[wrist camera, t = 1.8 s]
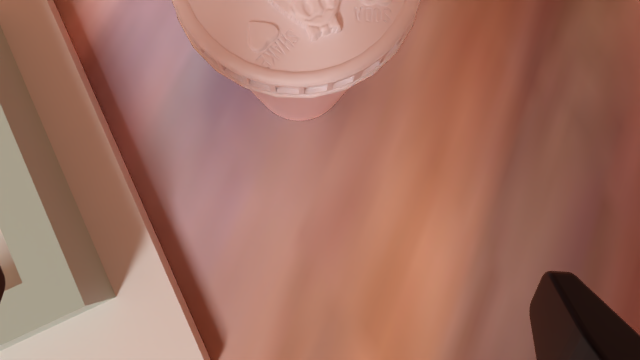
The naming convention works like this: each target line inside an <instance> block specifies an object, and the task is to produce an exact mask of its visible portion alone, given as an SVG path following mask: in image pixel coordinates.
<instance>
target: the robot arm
mask: <svg viewBox="0 0 640 360" xmlns="http://www.w3.org/2000/svg"><path fill="white" fill-rule="evenodd" d="M4 290H5V276H4V273H3V271H2V268H1V266H0V302H1V300H2V297H3V294H4ZM530 321H531V328H532V334H533V340H534V346H535V352H536V358H537V360H640V335H639V334H638V333H636V332H635V331H634V330H633V329H632V328H631V327H630V326H629V325H628V324H627V323H626V322H625V321H624V320H623V319H622V318H620V317H619V316H618V315H617V314H616V313H615V312H614V311H613V310H612V309H611V308H610V307H609V306H608V305H607V304H605V303H604V302H603V301H602V300H601V299H600V298H599V297H598V296H597V295H596V294H595V293H594V292H593V291H592V290H591V289H589V288H588V287H587V286H586V285H585V284H584V283H583V282H582V281H581V280H580V279H579V278H578V277H577V276H575V275H574V274H572V273H570V272H558V271H548V272H546V273H545V274H544V275H543V276H542V278H541V281H540V283H539V285H538V287H537V290H536V292H535V294H534V296H533V298H532V301H531V304H530Z"/></svg>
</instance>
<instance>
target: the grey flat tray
mask: <svg viewBox="0 0 640 360" xmlns="http://www.w3.org/2000/svg"><path fill="white" fill-rule="evenodd" d="M0 266H1V268H2V271H3V273H4V276H5V290H4V294H3V297H2V300H1V302H0V360H211V359H210V357H209V355H208V352H207V350H206V348H205V346H204V343H203V341H202V339H201V336H200V334H199V332H198V330H197V327H196V325H195V323H194V320H193V318H192V316H191V314H190V311H189V309H188V307H187V304H186V302H185V300H184V298H183V295H182V293H181V291H180V288H179V286H178V284H177V282H176V279H175V277H174V275H173V272H172V270H171V268H170V266H169V263H168V261H167V259H166V256H165V254H164V252H163V250H162V247H161V245H160V243H159V240H158V238H157V236H156V234H155V231H154V229H153V227H152V224H151V222H150V220H149V218H148V215H147V213H146V211H145V208H144V206H143V204H142V202H141V199H140V197H139V195H138V192H137V190H136V188H135V186H134V183H133V181H132V179H131V176H130V174H129V172H128V170H127V167H126V165H125V163H124V160H123V158H122V156H121V154H120V151H119V149H118V147H117V144H116V142H115V140H114V138H113V135H112V133H111V131H110V128H109V126H108V124H107V122H106V119H105V117H104V115H103V113H102V110H101V108H100V106H99V103H98V101H97V99H96V97H95V94H94V92H93V90H92V87H91V85H90V83H89V81H88V78H87V76H86V74H85V71H84V69H83V67H82V65H81V62H80V60H79V58H78V55H77V53H76V51H75V49H74V46H73V44H72V42H71V39H70V37H69V35H68V33H67V30H66V28H65V26H64V23H63V21H62V19H61V17H60V14H59V12H58V10H57V7H56V5H55V3H54V1H53V0H0Z"/></svg>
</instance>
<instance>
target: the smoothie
mask: <svg viewBox="0 0 640 360" xmlns="http://www.w3.org/2000/svg"><path fill="white" fill-rule="evenodd" d="M420 1H421V0H172V3H173V5H174V8H175V10H176V14H177V18H178V20H179V22H180V24H181V26H182V28H183V30H184V31H185V33H186V35H187V37H188V39H189V41H190V42H191V44H192V46H193V48H194V49H195V50H196V51H197V52H198V53H199V54H200V55H201V56H202V57H203V58H204V59H205V60H206V61H207V62H208V63H209V64H210V65H211V66H212V67H213V68H214V69H215V70H216V71H217V72H219V73H220V74H222V75H224V76H225V77H227V78H229V79H230V80H232V81H234V82H235V83H237V84H239V85H240V86H242V87H244V88H246V89H249V90H251V91H252V92H253V93H254V95H255V96H256V97H257V98H258V99H259V100H260V101H261V102H262V103H263V104H264V105H265V106H266V107H267V108H268V109H269V110H270V111H272V112H273V113H275V114H276V115H278V116H280V117H282V118H285V119H289V120H295V121H304V120H310V119H314V118H316V117H319V116H321V115H323V114H324V113H326V112H327V111H328V110H330V109H331V108H332V107H333V106H334V105H335V103H336V102H337V101H338V100H339V99H340V98H341V97H342V95H343V94H344V93H345V92H346V91H347V90H348V89H349V88H350V87H352V86H353V85H355V84H357V83H359V82H361V81H363V80H365V79H367V78H368V77H370V76H372V75H373V74H375V73H376V72H377V71H378V70H379V69H380V68H381V67H382V66H383V65H384V64H385V63H386V62H387V61H388V60H389V59H390V58H392V57H393V56H394V55H395V54H396V53H397V51H398V50H399V48H400V46H401V45H402V43H403V41H404V40H405V38H406V36H407V35H408V33H409V31H410V30H411V28H412V27H413V24H414V20H415V17H416V13H417V10H418V6H419V3H420Z"/></svg>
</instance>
